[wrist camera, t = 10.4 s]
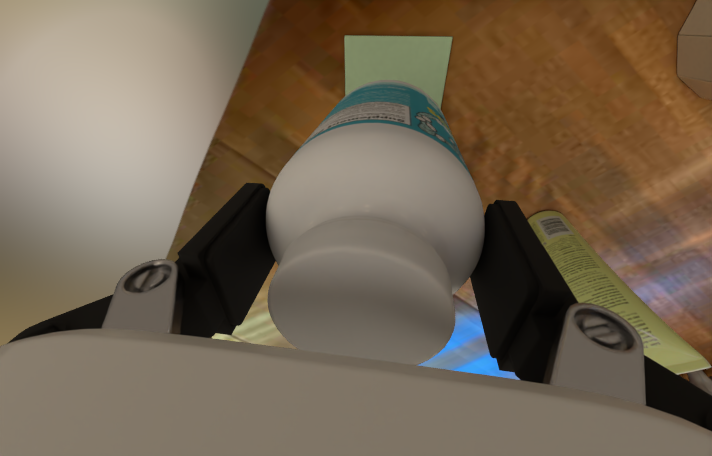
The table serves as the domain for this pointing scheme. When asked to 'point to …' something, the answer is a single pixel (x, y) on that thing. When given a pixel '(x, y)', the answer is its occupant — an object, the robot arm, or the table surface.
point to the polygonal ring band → (696, 50)
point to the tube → (611, 292)
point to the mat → (398, 61)
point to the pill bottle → (374, 229)
